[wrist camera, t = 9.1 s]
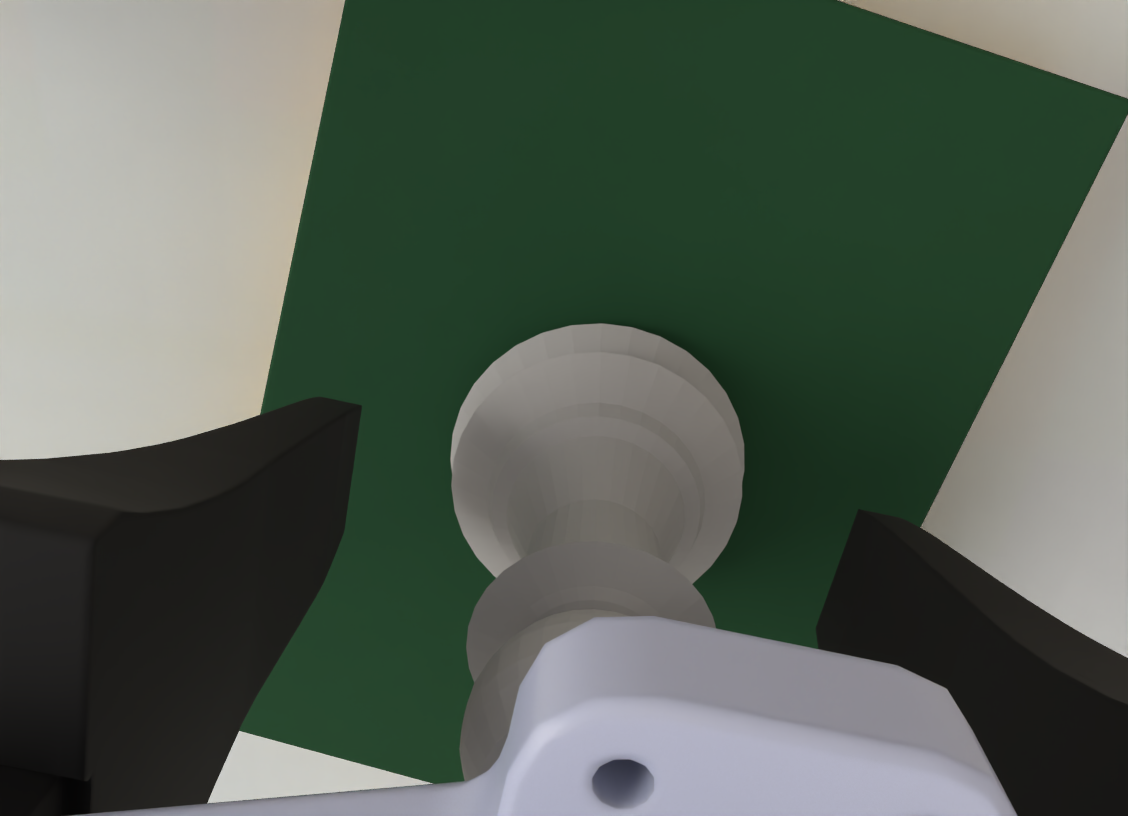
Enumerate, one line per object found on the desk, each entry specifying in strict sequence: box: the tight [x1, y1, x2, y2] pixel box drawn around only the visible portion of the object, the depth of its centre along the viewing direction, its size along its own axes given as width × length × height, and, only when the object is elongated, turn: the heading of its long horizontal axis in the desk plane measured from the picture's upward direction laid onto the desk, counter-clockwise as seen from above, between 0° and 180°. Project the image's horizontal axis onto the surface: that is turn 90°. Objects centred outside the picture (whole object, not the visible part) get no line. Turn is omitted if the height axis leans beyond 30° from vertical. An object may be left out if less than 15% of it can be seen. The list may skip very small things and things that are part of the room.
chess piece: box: [450, 323, 744, 781], centre depth 12 cm, size 5×5×8 cm
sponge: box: [239, 0, 1128, 784], centre depth 17 cm, size 11×15×2 cm
